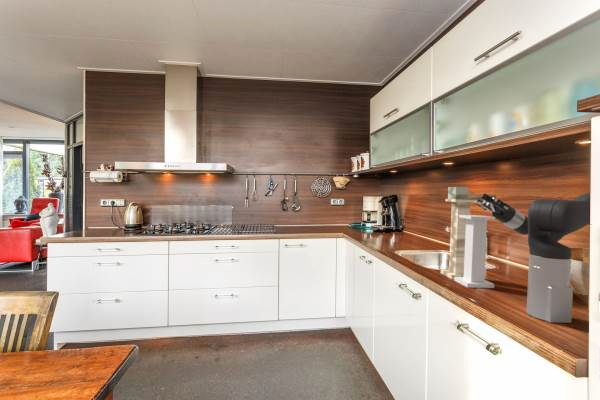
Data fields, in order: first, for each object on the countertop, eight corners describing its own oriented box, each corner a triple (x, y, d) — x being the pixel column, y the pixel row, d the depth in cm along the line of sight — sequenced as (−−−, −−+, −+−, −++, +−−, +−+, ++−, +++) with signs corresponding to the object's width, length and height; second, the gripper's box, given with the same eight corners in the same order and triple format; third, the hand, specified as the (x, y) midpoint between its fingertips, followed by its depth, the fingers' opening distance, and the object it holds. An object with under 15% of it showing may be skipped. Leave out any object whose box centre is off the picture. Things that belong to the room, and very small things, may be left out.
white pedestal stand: (494, 288, 114) (497, 217, 113) (467, 287, 113) (470, 216, 113) (479, 281, 123) (482, 215, 122) (454, 280, 122) (457, 214, 122)
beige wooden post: (476, 279, 125) (479, 200, 124) (451, 279, 124) (455, 199, 123) (463, 273, 134) (466, 199, 133) (440, 273, 133) (443, 198, 132)
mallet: (499, 200, 126) (499, 188, 125) (455, 199, 125) (456, 186, 125) (489, 200, 132) (490, 188, 132) (447, 198, 131) (448, 187, 131)
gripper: (516, 225, 122) (482, 203, 121) (492, 221, 136) (461, 202, 136) (526, 209, 122) (492, 187, 121) (501, 207, 136) (471, 187, 136)
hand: (476, 195), depth 128 cm, fingers open, 8 cm apart
